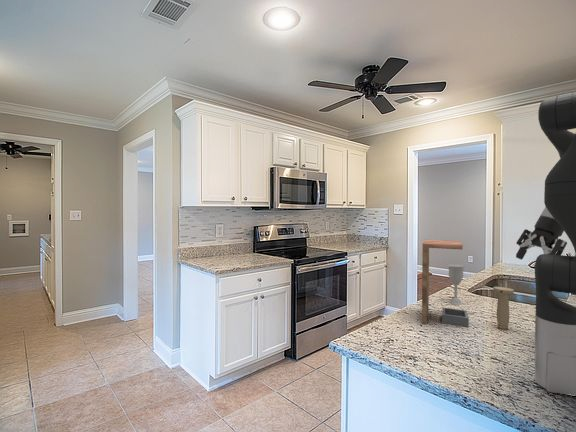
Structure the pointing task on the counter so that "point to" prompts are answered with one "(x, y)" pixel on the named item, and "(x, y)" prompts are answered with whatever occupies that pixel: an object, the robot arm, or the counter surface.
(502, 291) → the tan headed rod
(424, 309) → the wooden l-shaped bracket
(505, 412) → the counter surface
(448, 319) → the socket
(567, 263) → the robot arm
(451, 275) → the chalice
